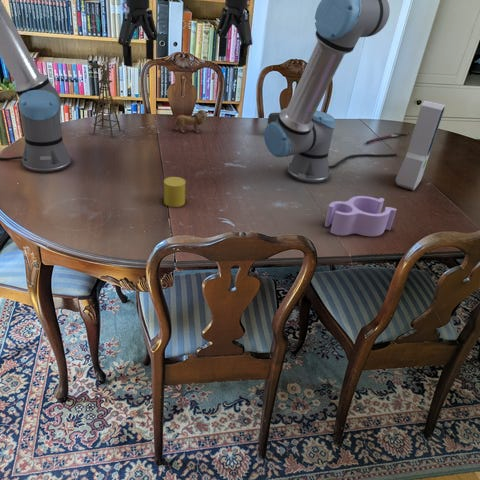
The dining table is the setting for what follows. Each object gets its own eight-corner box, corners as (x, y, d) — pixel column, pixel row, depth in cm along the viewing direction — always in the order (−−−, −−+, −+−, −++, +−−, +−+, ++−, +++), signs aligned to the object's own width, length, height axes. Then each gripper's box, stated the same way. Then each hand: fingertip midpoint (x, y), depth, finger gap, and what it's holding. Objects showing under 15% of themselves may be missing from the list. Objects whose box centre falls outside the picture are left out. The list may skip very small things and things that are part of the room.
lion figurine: (203, 128, 203) (204, 107, 198) (207, 132, 199) (208, 111, 194) (170, 129, 198) (170, 108, 193) (173, 133, 194) (173, 112, 189)
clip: (337, 240, 135) (342, 219, 131) (318, 218, 145) (322, 198, 141) (395, 233, 141) (402, 213, 137) (373, 213, 151) (378, 194, 147)
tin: (187, 198, 148) (187, 178, 144) (182, 208, 143) (182, 187, 139) (166, 195, 148) (167, 175, 145) (161, 205, 143) (161, 184, 139)
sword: (404, 132, 223) (404, 129, 222) (409, 134, 221) (409, 132, 220) (360, 143, 207) (361, 141, 206) (365, 146, 205) (366, 143, 204)
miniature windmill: (112, 137, 184) (107, 58, 168) (92, 134, 185) (85, 54, 169) (121, 130, 192) (117, 53, 176) (102, 127, 193) (96, 50, 177)
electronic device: (413, 191, 168) (440, 109, 151) (393, 185, 171) (417, 104, 154) (421, 180, 177) (448, 101, 161) (402, 174, 180) (426, 96, 164)
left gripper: (124, -2, 141) (127, 70, 153) (167, -6, 161) (167, 58, 172) (104, -5, 143) (108, 66, 155) (148, -9, 163) (149, 55, 174)
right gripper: (208, -11, 163) (205, 53, 174) (248, -1, 146) (241, 69, 157) (227, -10, 167) (222, 52, 178) (267, 0, 150) (259, 68, 161)
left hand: (139, 62), depth 163 cm, fingers open, 13 cm apart
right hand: (231, 60), depth 168 cm, fingers open, 13 cm apart
